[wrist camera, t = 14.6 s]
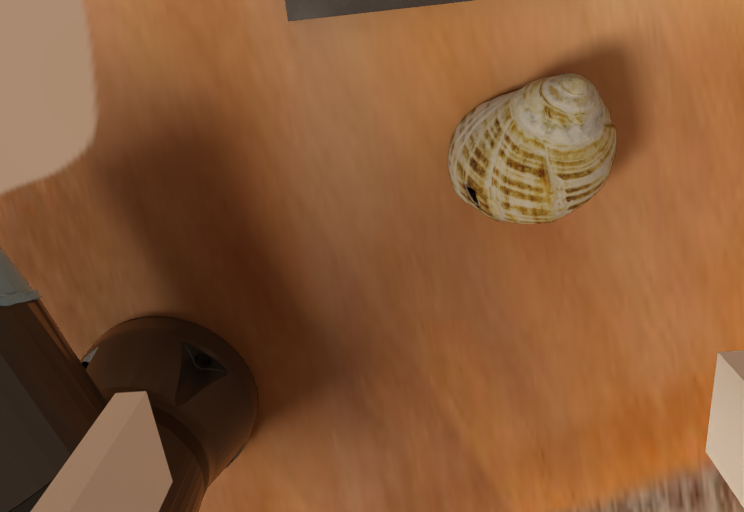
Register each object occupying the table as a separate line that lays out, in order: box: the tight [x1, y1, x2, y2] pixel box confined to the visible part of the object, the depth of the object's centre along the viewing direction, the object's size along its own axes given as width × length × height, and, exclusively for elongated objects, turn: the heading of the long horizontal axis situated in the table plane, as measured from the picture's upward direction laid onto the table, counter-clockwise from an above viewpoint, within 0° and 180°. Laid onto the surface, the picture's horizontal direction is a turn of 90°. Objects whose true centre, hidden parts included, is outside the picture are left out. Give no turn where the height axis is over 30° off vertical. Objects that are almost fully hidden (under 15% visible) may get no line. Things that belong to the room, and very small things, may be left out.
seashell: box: [448, 73, 616, 224], centre depth 41 cm, size 10×10×10 cm
